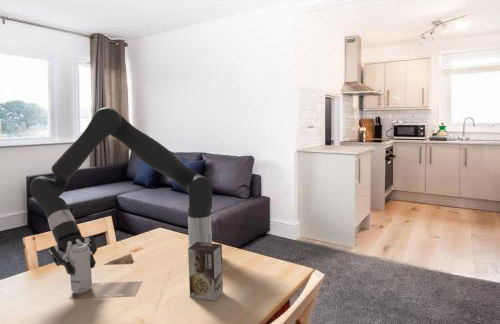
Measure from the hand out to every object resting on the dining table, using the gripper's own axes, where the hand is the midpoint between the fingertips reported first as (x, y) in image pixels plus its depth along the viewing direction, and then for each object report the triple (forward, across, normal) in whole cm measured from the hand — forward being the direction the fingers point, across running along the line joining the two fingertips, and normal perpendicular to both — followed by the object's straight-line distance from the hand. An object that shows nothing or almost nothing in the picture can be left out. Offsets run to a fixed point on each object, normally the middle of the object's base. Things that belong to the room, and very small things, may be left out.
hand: (83, 270), depth 109 cm
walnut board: (+9, +5, +3) cm, 11 cm away
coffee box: (+27, +24, -16) cm, 40 cm away
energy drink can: (+4, 0, +6) cm, 8 cm away
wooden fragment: (-2, +17, +15) cm, 23 cm away
